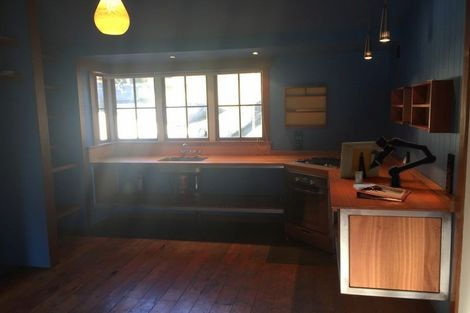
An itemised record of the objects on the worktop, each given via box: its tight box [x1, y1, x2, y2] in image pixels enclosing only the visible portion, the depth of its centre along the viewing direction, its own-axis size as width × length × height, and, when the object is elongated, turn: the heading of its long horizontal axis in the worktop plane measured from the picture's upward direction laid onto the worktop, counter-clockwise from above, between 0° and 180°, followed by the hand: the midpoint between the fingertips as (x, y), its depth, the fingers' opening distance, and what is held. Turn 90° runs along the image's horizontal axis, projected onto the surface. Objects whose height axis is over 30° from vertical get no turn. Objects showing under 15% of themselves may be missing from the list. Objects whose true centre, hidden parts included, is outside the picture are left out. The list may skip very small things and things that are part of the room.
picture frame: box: [339, 141, 383, 180], centre depth 305 cm, size 33×10×30 cm, turn 92°
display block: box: [353, 183, 375, 191], centre depth 265 cm, size 14×10×2 cm
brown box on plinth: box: [353, 172, 363, 186], centre depth 276 cm, size 6×6×10 cm
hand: (370, 167), depth 272 cm, fingers open, 9 cm apart
